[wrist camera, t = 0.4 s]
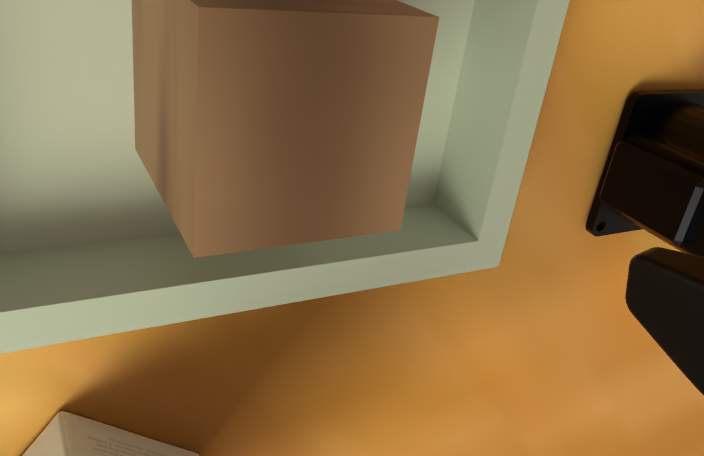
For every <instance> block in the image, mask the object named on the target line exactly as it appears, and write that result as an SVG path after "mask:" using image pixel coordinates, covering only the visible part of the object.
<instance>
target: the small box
mask: <svg viewBox="0 0 704 456" xmlns="http://www.w3.org/2000/svg"><path fill="white" fill-rule="evenodd" d="M22 456H200V455H198V453H195V452H192V451H188V450H185V449H182V448H179V447H176V446H172V445H169V444H166V443H163V442H160V441H157V440H153V439H150V438H147V437H144V436H141V435H138V434H135V433H132V432H129V431H125V430H123V429H120V428H117V427H114V426H110V425H107V424H104V423H101V422H98V421H95V420H91V419H88V418H84V417H81V416H78V415H75V414H71V413H68V412H64V411H61V412H58V413H57V414H56V416H55V417H54V418H53V419H52V421H51V422H50V423H49V424H48V426H47V427H46V428H45V429H44V430H43V431H42V433H41V434H40V435H39V436H38V437H37V439H36V440H35V441H34V442H33V443H32V444H31V446H30V447H29V448H28V449H27V450H26V452H25V453H24V454H23V455H22Z"/></svg>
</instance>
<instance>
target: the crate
mask: <svg viewBox="0 0 704 456" xmlns="http://www.w3.org/2000/svg"><path fill="white" fill-rule="evenodd" d="M398 1H400V2H403V3H405V4H408V5H410V6H413V7H415V8H418V9H420V10H423V11H425V12H428V13H430V14H433V15H435V16H438V17H439V22H438V27H437V33H436V38H435V44H434V49H433V55H432V60H431V66H430V71H429V77H428V82H427V88H426V93H425V99H424V104H423V109H422V115H421V120H420V126H419V131H418V137H417V142H416V148H415V153H414V159H413V164H412V170H411V175H410V181H409V186H408V192H407V197H406V203H405V208H404V213H403V219H402V224H401V230H400V231H394V232H386V233H378V234H371V235H363V236H356V237H348V238H340V239H333V240H325V241H318V242H310V243H302V244H295V245H287V246H280V247H272V248H264V249H257V250H249V251H241V252H234V253H226V254H219V255H211V256H203V257H196V258H194V257H193V255H192V253H191V252H190V250H189V248H188V246H187V244H186V242H185V240H184V239H183V237H182V235H181V233H180V231H179V229H178V227H177V226H176V224H175V222H174V220H173V218H172V216H171V214H170V213H169V211H168V209H167V207H166V205H165V203H164V202H163V200H162V198H161V196H160V194H159V192H158V190H157V189H156V187H155V185H154V183H153V181H152V179H151V177H150V176H149V174H148V172H147V170H146V168H145V166H144V164H143V163H142V161H141V159H140V157H139V155H138V153H137V151H136V150H135V118H134V78H133V38H132V0H0V354H1V353H7V352H13V351H18V350H24V349H30V348H35V347H41V346H47V345H53V344H58V343H64V342H70V341H76V340H81V339H87V338H93V337H99V336H104V335H110V334H116V333H121V332H127V331H133V330H139V329H144V328H150V327H156V326H162V325H167V324H173V323H179V322H185V321H190V320H196V319H202V318H208V317H213V316H219V315H225V314H230V313H236V312H242V311H248V310H253V309H259V308H265V307H271V306H276V305H282V304H288V303H294V302H299V301H305V300H311V299H317V298H322V297H328V296H334V295H339V294H345V293H351V292H357V291H362V290H368V289H374V288H380V287H385V286H391V285H397V284H403V283H408V282H414V281H420V280H425V279H431V278H437V277H443V276H448V275H454V274H460V273H466V272H471V271H477V270H483V269H489V268H494V267H499V263H500V259H501V255H502V252H503V248H504V244H505V240H506V237H507V233H508V229H509V225H510V222H511V218H512V214H513V211H514V207H515V203H516V199H517V196H518V192H519V188H520V184H521V181H522V177H523V173H524V169H525V166H526V162H527V158H528V155H529V151H530V147H531V143H532V140H533V136H534V132H535V128H536V125H537V121H538V117H539V113H540V110H541V106H542V102H543V98H544V95H545V91H546V87H547V84H548V80H549V76H550V72H551V69H552V65H553V61H554V57H555V54H556V50H557V46H558V42H559V39H560V35H561V31H562V28H563V24H564V20H565V16H566V13H567V9H568V5H569V1H570V0H398Z"/></svg>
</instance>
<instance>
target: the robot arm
mask: <svg viewBox="0 0 704 456" xmlns="http://www.w3.org/2000/svg"><path fill="white" fill-rule="evenodd" d="M640 229H644V230H646V231H648V232H649V233H651V234H653V235H654V236H656V237H658V238H659V239H661V240H663V241H665V242H666V243H668V244H670V245H671V246H673V247H675V248H676V249H678V250H680V251H681V252H679V251H674V250H670V249H665V248H660V247H655V248H651V249H648V250H646V251H644V252H642V253H640V254H637V255H635V256H634V257H633V258H632V259H631V261H630V265H629V272H628V280H627V288H626V297H625V298H626V303H627V306H628V308H629V310H630V311H631V313H632V314H633V315H634V316H635V318H636V319H637V320H638V321H639V322H640V323H641V325H642V326H643V327H644V328H645V329H646V330H647V332H648V333H649V334H650V335H651V336H652V337H653V339H654V340H655V341H656V342H657V343H658V344H659V346H660V347H661V348H662V349H663V350H664V351H665V353H666V354H667V355H668V356H669V357H670V358H671V360H672V361H673V362H674V363H675V364H676V365H677V367H678V368H679V369H680V370H681V371H682V372H683V373H684V375H685V376H686V377H687V378H688V379H689V380H690V381H691V382H692V384H693V385H694V386H695V387H696V388H697V389H698V390H699V391H700V392H701V393H702V394H703V395H704V90H662V91H637V92H634V93H633V94H631V95H630V97H629V98H628V100H627V102H626V104H625V107H624V110H623V113H622V116H621V119H620V122H619V125H618V128H617V131H616V135H615V138H614V141H613V144H612V147H611V150H610V153H609V156H608V159H607V162H606V165H605V168H604V171H603V174H602V177H601V180H600V183H599V186H598V189H597V193H596V196H595V199H594V202H593V205H592V208H591V211H590V214H589V217H588V220H587V223H586V230H587V231H588V232H589V233H591V234H593V235H594V236H603V235H609V234H615V233H621V232H627V231H634V230H640Z"/></svg>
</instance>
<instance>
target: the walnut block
mask: <svg viewBox="0 0 704 456" xmlns="http://www.w3.org/2000/svg"><path fill="white" fill-rule="evenodd" d="M438 22H439V17H438V16H435V15H433V14H430V13H428V12H425V11H423V10H420V9H418V8H415V7H413V6H410V5H408V4H405V3H403V2H400V1H398V0H132V38H133V78H134V118H135V150H136V151H137V153H138V155H139V157H140V159H141V161H142V163H143V164H144V166H145V168H146V170H147V172H148V174H149V176H150V177H151V179H152V181H153V183H154V185H155V187H156V189H157V190H158V192H159V194H160V196H161V198H162V200H163V202H164V203H165V205H166V207H167V209H168V211H169V213H170V214H171V216H172V218H173V220H174V222H175V224H176V226H177V227H178V229H179V231H180V233H181V235H182V237H183V239H184V240H185V242H186V244H187V246H188V248H189V250H190V252H191V253H192V255H193V257H194V258H196V257H203V256H211V255H219V254H226V253H234V252H241V251H249V250H257V249H264V248H272V247H280V246H287V245H295V244H302V243H310V242H318V241H325V240H333V239H340V238H348V237H356V236H363V235H371V234H378V233H386V232H394V231H400V230H401V224H402V219H403V213H404V208H405V203H406V197H407V192H408V186H409V181H410V175H411V170H412V164H413V159H414V153H415V148H416V142H417V137H418V131H419V126H420V120H421V115H422V109H423V104H424V99H425V93H426V88H427V82H428V77H429V71H430V66H431V60H432V55H433V49H434V44H435V38H436V33H437V27H438Z"/></svg>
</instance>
